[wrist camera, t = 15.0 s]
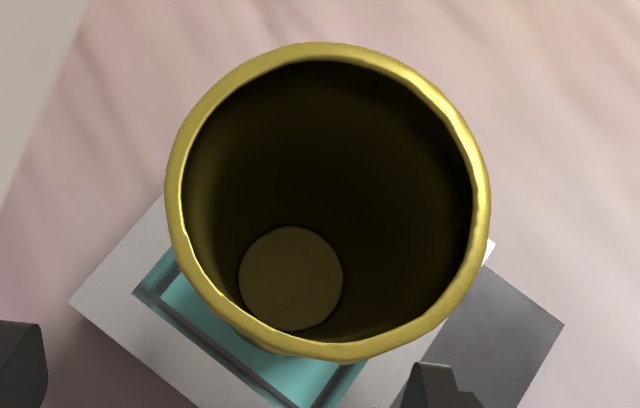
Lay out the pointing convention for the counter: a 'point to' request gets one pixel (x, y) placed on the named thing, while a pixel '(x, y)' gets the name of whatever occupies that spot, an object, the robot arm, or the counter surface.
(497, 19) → the counter surface
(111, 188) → the counter surface
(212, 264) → the vase
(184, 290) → the plate
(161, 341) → the grey tray
